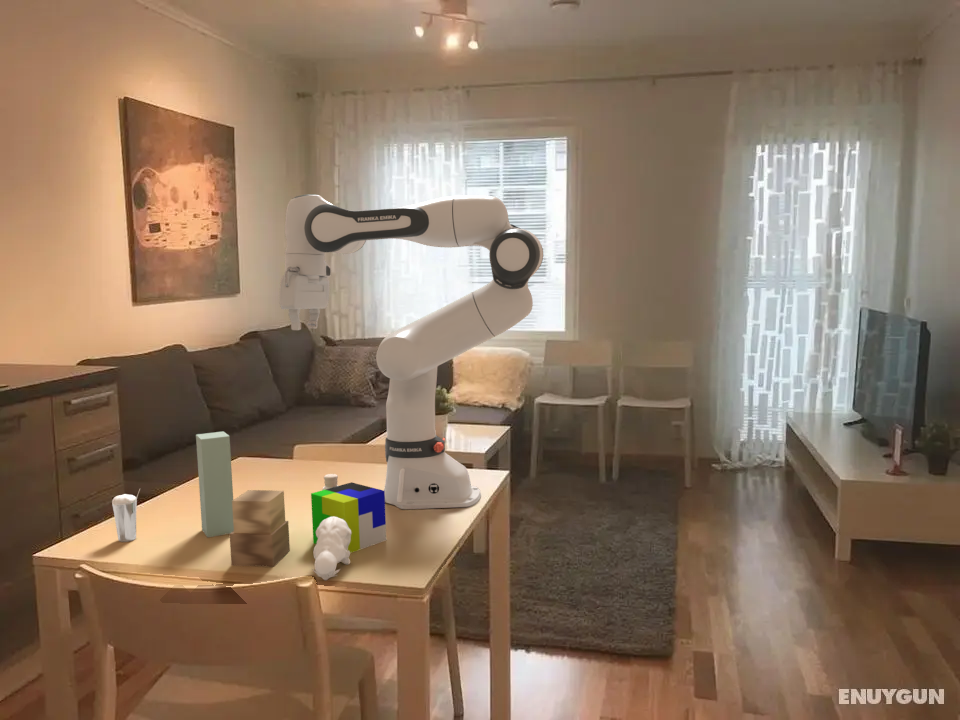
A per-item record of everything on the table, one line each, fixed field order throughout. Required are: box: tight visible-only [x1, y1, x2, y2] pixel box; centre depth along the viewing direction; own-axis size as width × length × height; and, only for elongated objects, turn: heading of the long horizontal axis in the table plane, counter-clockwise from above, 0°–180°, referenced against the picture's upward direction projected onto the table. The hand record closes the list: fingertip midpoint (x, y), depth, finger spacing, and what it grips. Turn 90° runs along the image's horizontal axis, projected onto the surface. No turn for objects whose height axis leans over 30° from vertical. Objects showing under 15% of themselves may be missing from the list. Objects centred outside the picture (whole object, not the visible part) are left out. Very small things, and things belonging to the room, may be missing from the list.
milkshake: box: [111, 488, 141, 543], centre depth 165 cm, size 4×5×10 cm
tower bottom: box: [229, 520, 291, 568], centre depth 153 cm, size 8×8×6 cm
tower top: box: [232, 489, 286, 534], centre depth 152 cm, size 7×7×6 cm
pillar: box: [195, 431, 234, 538], centre depth 168 cm, size 6×6×20 cm
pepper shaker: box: [321, 473, 339, 491], centre depth 169 cm, size 5×5×11 cm
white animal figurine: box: [311, 516, 351, 581], centre depth 146 cm, size 6×8×12 cm
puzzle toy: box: [310, 481, 387, 554], centre depth 161 cm, size 10×10×10 cm
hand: (304, 329), depth 187 cm, fingers open, 8 cm apart
